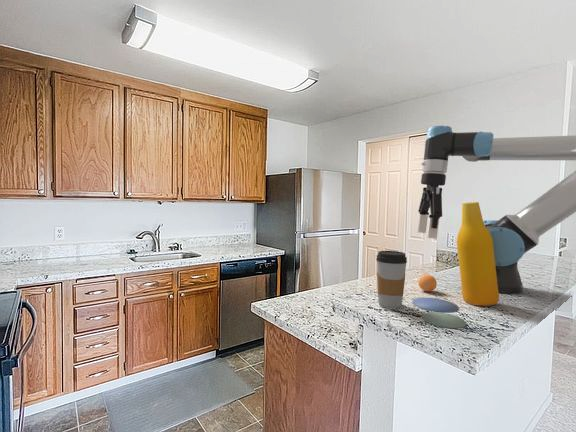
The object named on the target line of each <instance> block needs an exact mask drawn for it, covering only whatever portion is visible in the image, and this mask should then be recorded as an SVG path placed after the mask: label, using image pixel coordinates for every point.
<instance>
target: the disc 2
mask: <svg viewBox="0 0 576 432" xmlns="http://www.w3.org/2000/svg"><path fill="white" fill-rule="evenodd" d="M421 319H422V320H423V321H424V322H425V323H429V325H433V326H436V327H441V328H446V329H461V328H465V327H466V326H467V322H466V320H464V319H463V318H462V317H459V316H457V315H454V314H450V313H447V312H435V311H430V312H424V313H422V315H421Z"/></svg>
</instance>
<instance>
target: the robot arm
mask: <svg viewBox="0 0 576 432" xmlns="http://www.w3.org/2000/svg"><path fill="white" fill-rule="evenodd" d="M425 138H426V139H425V144H424V153H423V162H421V166H423V167H422V172H424V173H422V174H421V178H420V179H421V180H420V184H421V185H426V187H423V188H422V195H421V199H420V203H419V206H418V213H419V218H418V224H417V225H418V226H417V227H418V228H417V233H421V234H426V233H427V238H428V239H438V232H439V223H440V218H442V217H443V203H442V202H443V200H442V197H443V196H442V195H443V188H442V187H441V186H445V185H446V180H447V175H446V173H447V172H448V165H449V157H462V158H464V160H466V161H468V162H471V163H472V162H478V161H482V162H483V161H576V135H554V136H553V135H552V136H551V135H548V136H523V137H522V136H521V137H520V136H519V137H518V136H517V137H494V133H493V132H491V131H485V132H484V131H474V132H473V131H469V132H468V131H467V132H465V131H464V132H454V131H453V129H452V127H451V126H450V125H433V126H430V127H429V128H428V129H427V133H426V137H425ZM439 186H440V187H439ZM429 210H430V212H429ZM575 213H576V170H574V171H573V172H572V173H570V174H569V175H568V176H566V177H565V178H564V179H562V180H561V181H559V182H558V183H556V184H555V185H554V186H552V187H551V188H550V189H548V190H547V191H546V192H545V193H543V194H541V195H539V197H537V198H536V199H535V200H533V201H532V202H531V203H529V204H528V205H526V206H525V207H524V208H522V209H520V211H518V212H517V213H515V214H505V215H503V216H502V217H501V218H499V219H498V220H494V219H493V220H492V219H490V220H483V222H484V225H485V226H486V228H487V229H488V231H489V232H490V234H491V236H492V239H493V247H494V257H495V266H496V276H497V285H498V292H499V293H502V294H504V293H505V294H518V293H522V292H523V287H524V285H523V282H522V279H521V278H522V277H521V275H520V271H519V269H518V264H519V263H518V262H519V261H520V260H521V259H522V258H523V256H524V254H526V253H528V252H529V251H530V250H532V249H534V248H535V247H536V246H538V245H539V240H540V236H541V237H542V235H544V234H546V232H549V230H551V229H553V228H554V227H556V226H557V225H559V224H560V223H562V222H563V221H565V220H566V219H568V218H569V217H571V216H572V215H574V214H575ZM428 218H429V219H428ZM428 220H429V221H428ZM427 227H428V229H427Z"/></svg>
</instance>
